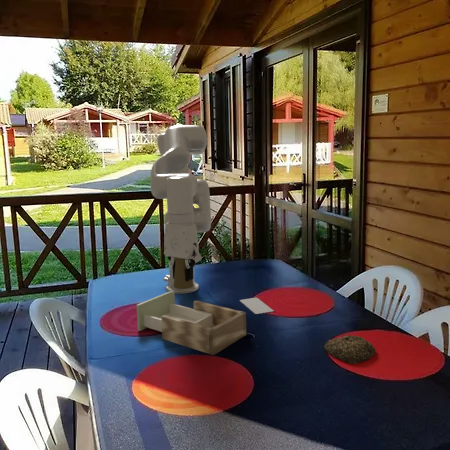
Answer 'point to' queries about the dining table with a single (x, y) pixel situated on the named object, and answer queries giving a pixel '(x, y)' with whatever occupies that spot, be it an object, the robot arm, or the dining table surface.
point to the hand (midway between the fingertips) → (183, 278)
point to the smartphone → (256, 306)
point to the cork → (181, 275)
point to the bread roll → (350, 349)
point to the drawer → (168, 312)
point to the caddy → (206, 329)
